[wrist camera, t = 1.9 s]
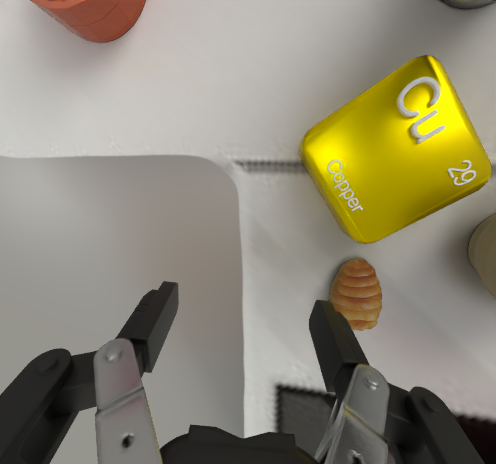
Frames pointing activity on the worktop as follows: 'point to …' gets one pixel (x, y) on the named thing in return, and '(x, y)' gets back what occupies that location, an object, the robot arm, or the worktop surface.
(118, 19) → the pot
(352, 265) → the pastry
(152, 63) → the worktop surface
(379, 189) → the element tile
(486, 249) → the planter bowl
